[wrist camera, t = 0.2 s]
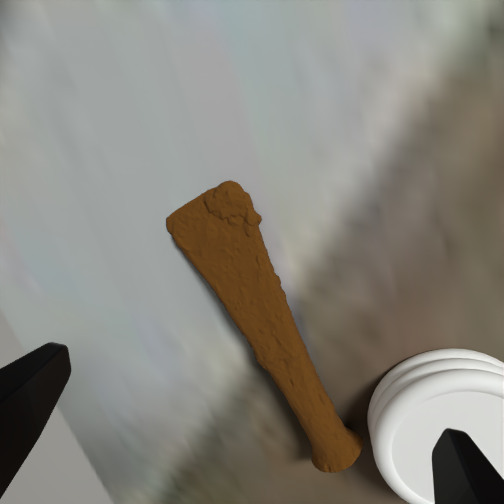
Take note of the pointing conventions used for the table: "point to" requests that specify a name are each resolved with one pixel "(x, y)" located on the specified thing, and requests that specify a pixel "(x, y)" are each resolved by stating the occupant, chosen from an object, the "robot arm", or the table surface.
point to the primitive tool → (261, 311)
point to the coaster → (435, 415)
